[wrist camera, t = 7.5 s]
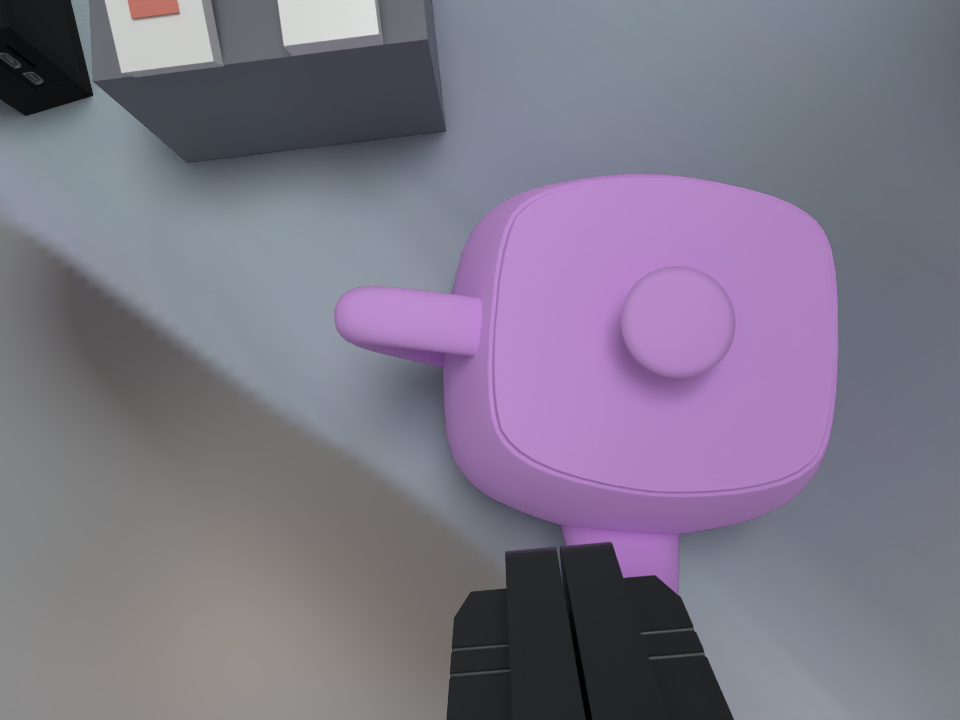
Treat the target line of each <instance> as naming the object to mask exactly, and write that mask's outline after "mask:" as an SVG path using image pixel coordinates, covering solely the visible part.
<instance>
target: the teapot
mask: <svg viewBox="0 0 960 720" xmlns="http://www.w3.org/2000/svg"><path fill="white" fill-rule="evenodd" d="M335 325H336V328H337V331H338V332H339V334H340V335H341V337H343V338H344V339H345V340H346V341H348V342H350V343H352V344H354V345H356V346H358V347H361V348H364V349H368V350H371V351H375V352H378V353H382V354H386V355H391V356H395V357H399V358H403V359H408V360H412V361H416V362H421V363H425V364H430V365H434V366H439V367H443V388H444V410H445V422H446V435H447V440H448V443H449V447H450V450H451V453H452V457H453V459H454V460H455V462H456V464H457V466H458V467H459V469H460V471H461V472H462V473H463V474H464V476H465V477H466V478H467V479H468V480H469V481H470V483H471V484H472V485H473V486H475V487H476V488H478V489H479V490H480V491H482V492H483V493H484V494H486V495H487V496H489V497H490V498H492V499H494V500H496V501H499V502H501V503H503V504H505V505H507V506H509V507H511V508H513V509H516V510H518V511H521V512H523V513H526V514H529V515H531V516H534V517H536V518H539V519H542V520H545V521H548V522H552V523H555V524H558V525H561V527H562V532H563V536H564V541H565V545H566V546H568V545H579V544H590V543H601V542H612V544H613V547H614V550H615V553H616V556H617V559H618V563H619V566H620V569H621V572H622V575H623V578H627V577H638V576H649V575H656V576H657V577H658V578H659V579H660V580H661V581H663V582H664V583H665V584H666V585H667V586H668V587H670V588H671V589H672V590H673V591H674V592H675V593H676V594H678V580H679V561H678V551H679V537H680V534H684V533H691V532H697V531H704V530H709V529H714V528H719V527H724V526H730V525H734V524H738V523H741V522H744V521H748V520H751V519H754V518H758V517H761V516H763V515H765V514H767V513H769V512H771V511H773V510H775V509H777V508H779V507H781V506H783V505H785V504H786V503H788V502H789V501H790V500H791V499H792V498H794V497H795V496H796V495H797V494H799V493H800V492H801V491H802V490H803V489H804V488H805V487H806V485H807V484H808V483H809V481H810V480H811V479H812V478H813V476H814V475H815V473H816V472H817V470H818V468H819V466H820V464H821V462H822V460H823V457H824V455H825V453H826V450H827V448H828V443H829V438H830V432H831V427H832V422H833V414H834V405H835V396H836V387H837V369H838V298H837V285H836V273H835V266H834V261H833V255H832V250H831V246H830V244H829V241H828V239H827V236H826V233H825V232H824V231H823V229H822V228H821V227H820V225H819V224H818V223H817V222H816V221H815V220H814V219H813V218H812V217H811V216H810V215H809V214H807V213H806V212H804V211H803V210H801V209H799V208H798V207H796V206H794V205H793V204H791V203H788V202H786V201H783V200H781V199H778V198H776V197H773V196H771V195H767V194H764V193H760V192H756V191H753V190H749V189H746V188H742V187H738V186H733V185H728V184H723V183H719V182H714V181H709V180H703V179H697V178H691V177H684V176H674V175H664V174H620V175H606V176H598V177H590V178H583V179H576V180H571V181H565V182H560V183H554V184H549V185H546V186H542V187H539V188H535V189H532V190H528V191H525V192H522V193H520V194H518V195H516V196H514V197H511V198H509V199H507V200H505V201H503V202H501V203H500V204H498V205H497V206H496V207H495V208H493V209H492V210H491V211H490V212H488V213H487V214H486V215H485V216H484V217H483V218H482V219H481V221H480V222H479V223H478V224H477V225H476V227H475V228H474V229H473V230H472V232H471V234H470V236H469V238H468V241H467V243H466V245H465V247H464V249H463V251H462V253H461V258H460V262H459V266H458V270H457V274H456V278H455V282H454V287H453V292H452V294H447V293H439V292H431V291H423V290H414V289H405V288H395V287H381V286H366V287H358V288H355V289H352V290H350V291H347V292H346V293H345V294H344V295H342V296H341V298H340V299H339V301H338V302H337V304H336V308H335Z"/></svg>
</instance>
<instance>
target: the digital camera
mask: <svg viewBox="0 0 960 720" xmlns="http://www.w3.org/2000/svg"><path fill="white" fill-rule="evenodd" d="M61 75H62V76H61ZM66 79H67V80H66ZM71 83H72V84H71ZM75 86H76V87H77V88H76V87H75ZM80 90H81V91H82V92H81V91H80ZM85 94H86V95H87V96H86V95H85ZM90 96H93V92H92V88H91V84H90V80H89V75H88V71H87V67H86V63H85V59H84V55H83V50H82V46H81V42H80V38H79V34H78V29H77V25H76V21H75V17H74V13H73V8H72V4H71V0H0V99H1V100H2V101H4V102H5V103H7V104H8V105H10V106H11V107H13V108H14V109H16V110H17V111H19V112H21V113H22V114H24V115H30V114H34V113H37V112H40V111H44V110H47V109H50V108H53V107H57V106H60V105H63V104H67V103H70V102H73V101H77V100H80V99H83V98H87V97H90Z"/></svg>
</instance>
